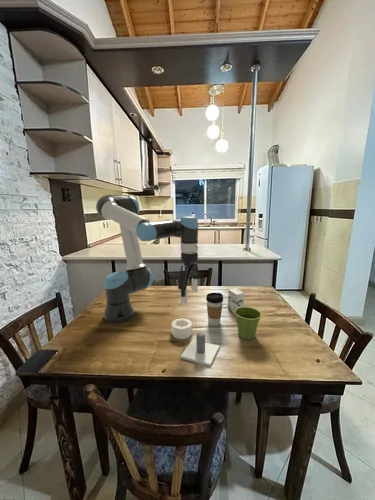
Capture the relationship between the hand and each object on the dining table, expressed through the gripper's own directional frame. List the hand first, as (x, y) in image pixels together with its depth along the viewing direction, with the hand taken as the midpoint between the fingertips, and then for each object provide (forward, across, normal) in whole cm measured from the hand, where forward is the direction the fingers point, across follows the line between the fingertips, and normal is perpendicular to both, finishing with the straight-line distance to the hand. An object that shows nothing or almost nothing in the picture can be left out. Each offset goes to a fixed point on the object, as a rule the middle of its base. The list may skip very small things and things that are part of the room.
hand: (189, 296), depth 106 cm
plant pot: (+17, +5, -26) cm, 32 cm away
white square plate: (+17, -14, -10) cm, 24 cm away
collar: (+17, -4, +2) cm, 17 cm away
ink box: (+17, +28, -17) cm, 37 cm away
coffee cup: (+17, +11, -9) cm, 22 cm away
